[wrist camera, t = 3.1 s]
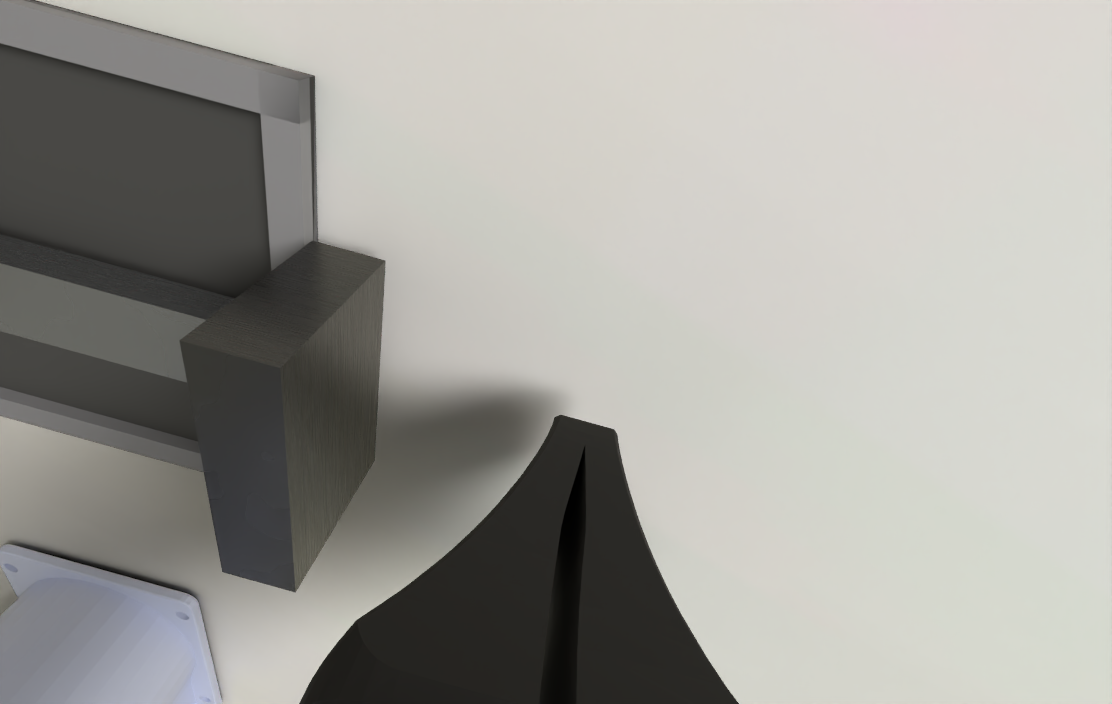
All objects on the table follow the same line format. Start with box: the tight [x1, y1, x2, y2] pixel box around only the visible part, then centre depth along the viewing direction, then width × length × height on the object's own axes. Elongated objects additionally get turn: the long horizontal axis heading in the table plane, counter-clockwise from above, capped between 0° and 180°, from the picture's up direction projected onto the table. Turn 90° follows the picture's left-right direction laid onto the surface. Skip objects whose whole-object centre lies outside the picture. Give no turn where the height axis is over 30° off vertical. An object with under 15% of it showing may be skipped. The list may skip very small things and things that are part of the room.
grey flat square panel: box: [0, 0, 318, 472], centre depth 14 cm, size 12×13×1 cm
